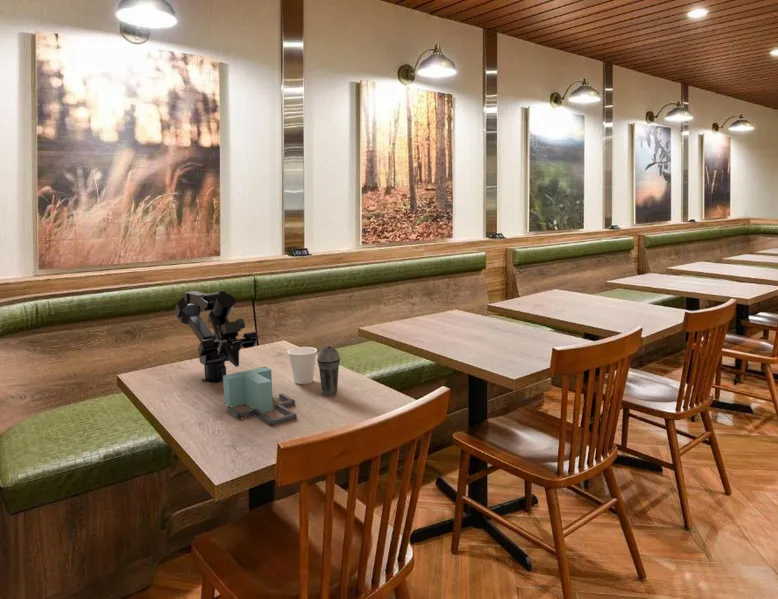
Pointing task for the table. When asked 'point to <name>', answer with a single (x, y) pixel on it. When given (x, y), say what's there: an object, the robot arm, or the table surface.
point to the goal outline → (279, 406)
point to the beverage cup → (328, 370)
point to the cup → (302, 363)
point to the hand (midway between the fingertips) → (237, 365)
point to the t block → (249, 389)
